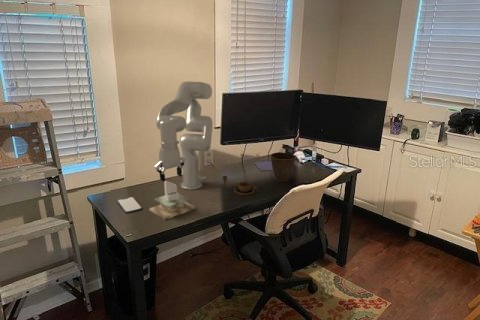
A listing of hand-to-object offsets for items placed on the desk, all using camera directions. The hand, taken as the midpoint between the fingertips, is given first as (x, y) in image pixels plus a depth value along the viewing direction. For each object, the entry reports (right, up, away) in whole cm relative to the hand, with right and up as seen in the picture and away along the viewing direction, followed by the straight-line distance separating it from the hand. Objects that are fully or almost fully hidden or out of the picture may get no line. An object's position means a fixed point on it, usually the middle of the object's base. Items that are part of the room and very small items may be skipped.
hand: (171, 178), depth 179 cm
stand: (0, -16, +5) cm, 17 cm away
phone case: (-23, -15, +9) cm, 29 cm away
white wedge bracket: (0, -11, +3) cm, 11 cm away
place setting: (+35, -8, +32) cm, 48 cm away
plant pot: (+60, -4, +46) cm, 75 cm away
